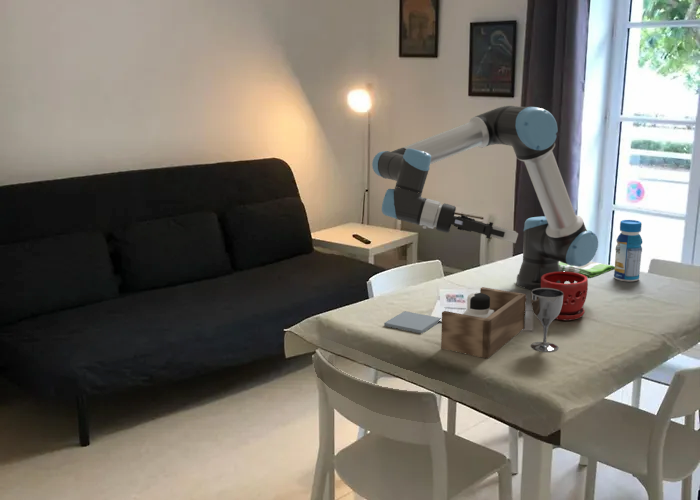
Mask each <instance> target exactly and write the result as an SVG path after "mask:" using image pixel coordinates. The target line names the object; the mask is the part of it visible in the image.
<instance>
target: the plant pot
mask: <svg viewBox="0 0 700 500" xmlns="http://www.w3.org/2000/svg"><path fill="white" fill-rule="evenodd" d="M588 280H589V279H588V277H586V276H584V275H582V274H579V273H574V272H563V271H561V272H551V273H547V274H544V275H543V276H542V277H541V288H553V289H557V290H560V291H562V292H563V304H562V308H561V311H560V314H559V315H558V316H557V317H556V318H555V319H554V320H559V321H573V320H577V319H580V318H582V316H583V315H584V314H585V311H586V310H585V309H584V308H583V307H584V305H585V303H586V299H587V295H588V289H589V288H588V287H589V281H588ZM557 281H560V283H556V282H557ZM566 282H569V283H566Z"/></svg>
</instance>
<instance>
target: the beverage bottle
mask: <svg viewBox="0 0 700 500" xmlns="http://www.w3.org/2000/svg"><path fill="white" fill-rule="evenodd" d="M641 231H642V222H641V221H640V220H636V219H622V220H621V221H620V223H619V232H620V233H619V235H618V236H617V238H616V243H617V244H616V246H615V259H614V260H615V261H614V267H615V269H613V270H614V274H613V277H614V279H615V280H617V281H621V282H632V283H633V282H637V281H638V280H639V279H640V271H641V262H642V252H643V247H642V244H643V239H642V237H641V234H640V233H641Z"/></svg>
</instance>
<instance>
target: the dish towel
mask: <svg viewBox="0 0 700 500" xmlns="http://www.w3.org/2000/svg"><path fill="white" fill-rule="evenodd" d="M559 266H560V270H561V271H565V272H574V273H579V274H582V275H584V276H586V277H587V279H588V278H592V277H596V276H599V275H601V274H605V273H607V272H610V271H612V270H615V265H609V264H605V263H600V262H596V261H595V262H594V261H590V262H589V263H588V264H586V265H584V266H581V267H577V266H571V265H568V264H565V263H562V262H560V261H559Z"/></svg>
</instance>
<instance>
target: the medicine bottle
mask: <svg viewBox="0 0 700 500" xmlns="http://www.w3.org/2000/svg"><path fill="white" fill-rule="evenodd" d="M466 301H467V303H466V304H467V305H466V310H465V311H464V312H463V313H462V314H464V315H469V316H475V317H480V318H487V317H489V316H490V315H491V314H493V313H494V310H490V297H489V296H488V295H486V294H484V293H480V292H473V293H470V294H468V296H467V299H466Z"/></svg>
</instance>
